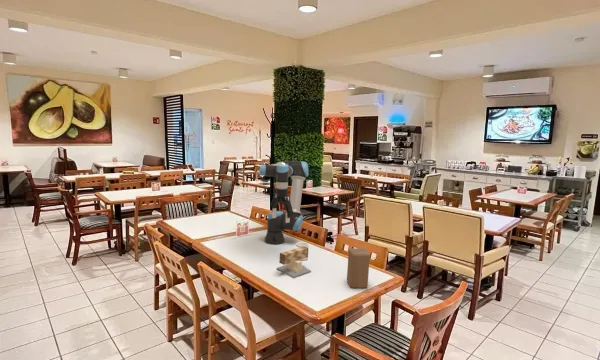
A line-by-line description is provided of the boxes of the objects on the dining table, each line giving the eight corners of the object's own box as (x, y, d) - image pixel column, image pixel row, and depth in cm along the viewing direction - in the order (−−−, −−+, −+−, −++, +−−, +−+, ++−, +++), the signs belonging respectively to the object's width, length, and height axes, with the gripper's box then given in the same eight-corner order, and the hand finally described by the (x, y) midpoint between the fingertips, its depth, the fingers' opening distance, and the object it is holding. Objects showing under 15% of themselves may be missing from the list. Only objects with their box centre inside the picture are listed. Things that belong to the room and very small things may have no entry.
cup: (310, 259, 225) (311, 244, 224) (295, 262, 218) (296, 247, 217) (302, 255, 232) (303, 241, 230) (288, 258, 225) (289, 244, 223)
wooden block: (346, 280, 195) (348, 247, 192) (363, 280, 196) (365, 247, 193) (350, 288, 185) (352, 254, 182) (367, 288, 186) (370, 254, 183)
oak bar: (303, 255, 213) (304, 246, 212) (308, 257, 210) (308, 248, 209) (279, 262, 199) (279, 253, 198) (283, 264, 196) (284, 255, 195)
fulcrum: (293, 263, 216) (293, 253, 215) (311, 272, 204) (311, 261, 204) (276, 269, 206) (277, 258, 205) (294, 278, 195) (294, 266, 194)
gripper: (265, 185, 223) (264, 216, 226) (290, 191, 205) (288, 225, 208) (274, 185, 228) (273, 215, 231) (299, 190, 210) (297, 223, 213)
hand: (280, 220), depth 219 cm, fingers open, 13 cm apart
